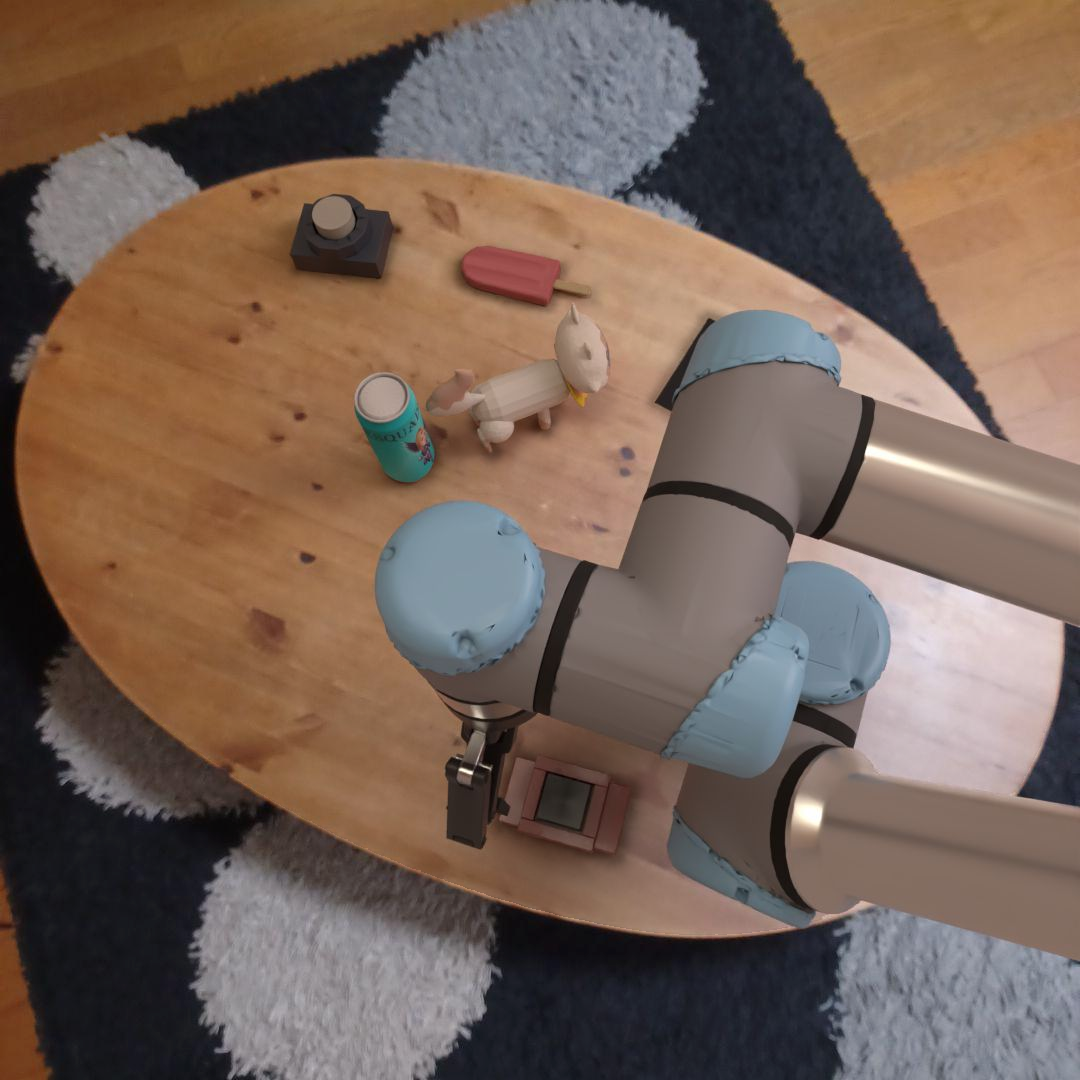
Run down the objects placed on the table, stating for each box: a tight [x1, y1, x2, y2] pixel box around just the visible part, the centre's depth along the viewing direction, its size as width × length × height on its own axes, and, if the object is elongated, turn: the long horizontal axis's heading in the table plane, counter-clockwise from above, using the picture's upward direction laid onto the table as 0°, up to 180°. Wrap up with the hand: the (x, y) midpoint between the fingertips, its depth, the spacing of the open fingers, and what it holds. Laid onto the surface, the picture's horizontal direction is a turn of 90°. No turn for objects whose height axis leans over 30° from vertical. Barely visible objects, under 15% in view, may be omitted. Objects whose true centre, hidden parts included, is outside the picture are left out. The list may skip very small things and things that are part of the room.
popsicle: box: [461, 245, 592, 307], centre depth 113 cm, size 5×2×15 cm
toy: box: [425, 301, 611, 454], centre depth 101 cm, size 9×19×15 cm, turn 112°
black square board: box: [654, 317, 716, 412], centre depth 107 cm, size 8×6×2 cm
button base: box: [289, 193, 394, 279], centre depth 114 cm, size 10×7×5 cm
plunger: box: [312, 196, 355, 240], centre depth 111 cm, size 4×4×2 cm
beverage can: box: [353, 371, 436, 483], centre depth 100 cm, size 6×6×15 cm
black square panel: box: [536, 773, 591, 831], centre depth 90 cm, size 4×4×2 cm
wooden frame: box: [497, 754, 632, 856], centre depth 92 cm, size 11×7×4 cm, turn 75°
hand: (520, 719), depth 77 cm, fingers open, 13 cm apart
